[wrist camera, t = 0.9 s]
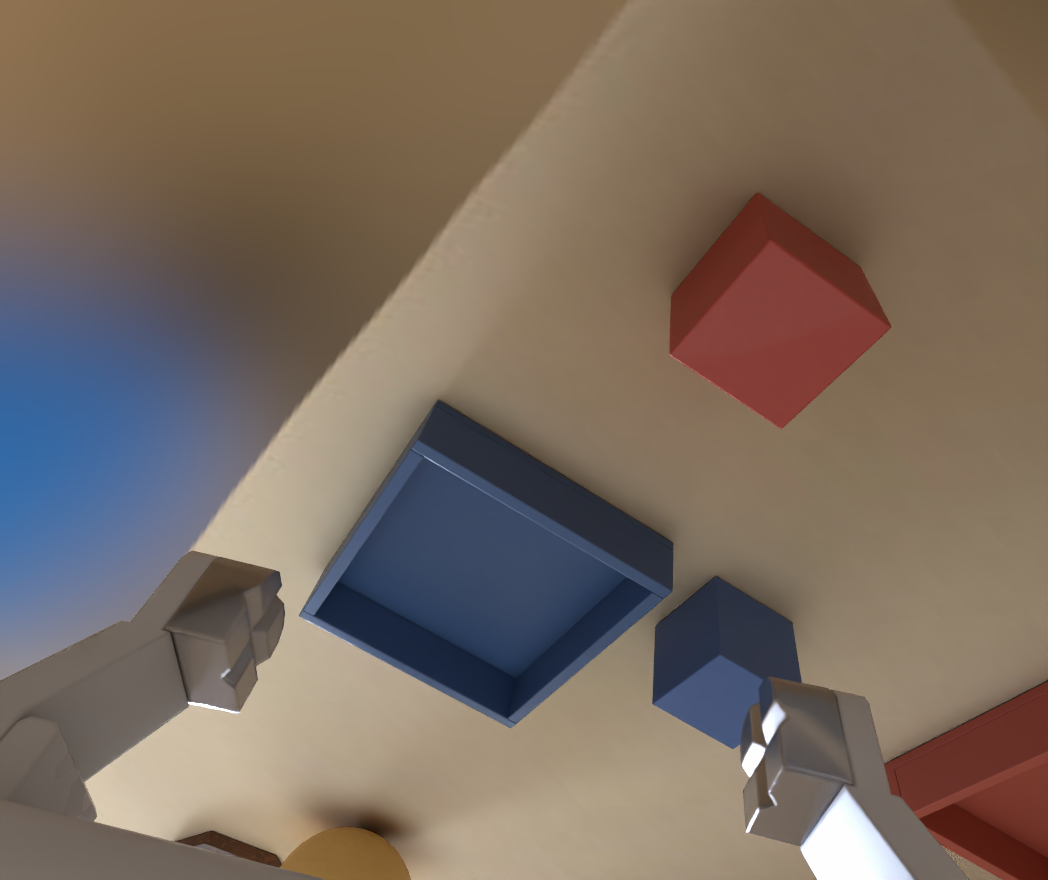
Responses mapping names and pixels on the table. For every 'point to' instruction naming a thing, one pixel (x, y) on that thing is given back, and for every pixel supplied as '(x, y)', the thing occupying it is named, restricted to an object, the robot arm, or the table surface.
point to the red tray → (986, 787)
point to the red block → (773, 313)
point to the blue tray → (487, 571)
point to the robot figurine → (231, 848)
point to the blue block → (720, 659)
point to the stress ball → (347, 856)
